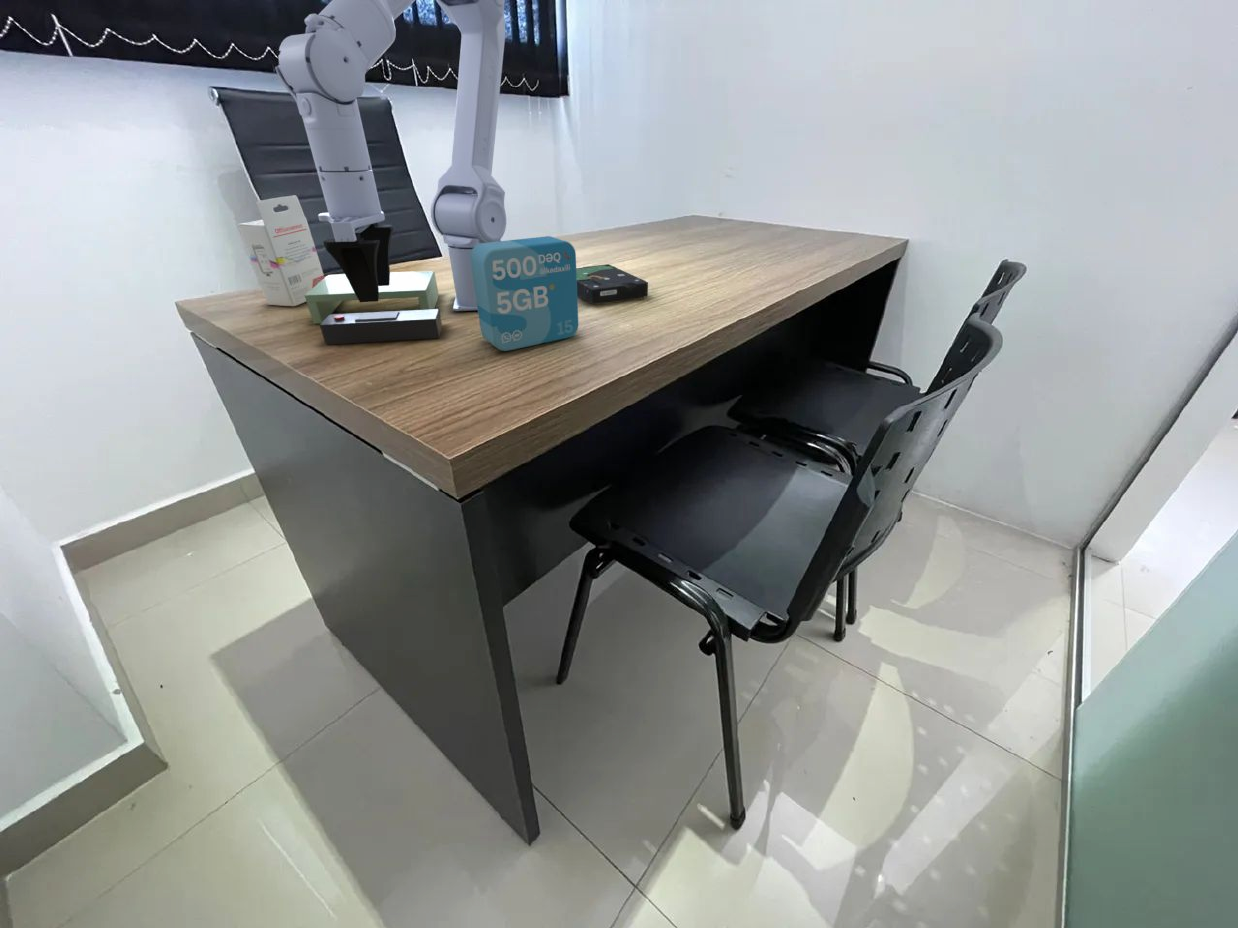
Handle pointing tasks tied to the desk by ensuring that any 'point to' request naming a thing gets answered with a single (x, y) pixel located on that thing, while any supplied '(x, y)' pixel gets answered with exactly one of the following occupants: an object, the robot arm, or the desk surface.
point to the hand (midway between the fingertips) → (375, 293)
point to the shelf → (400, 286)
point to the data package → (525, 291)
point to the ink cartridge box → (282, 252)
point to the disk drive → (608, 284)
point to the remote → (381, 326)
